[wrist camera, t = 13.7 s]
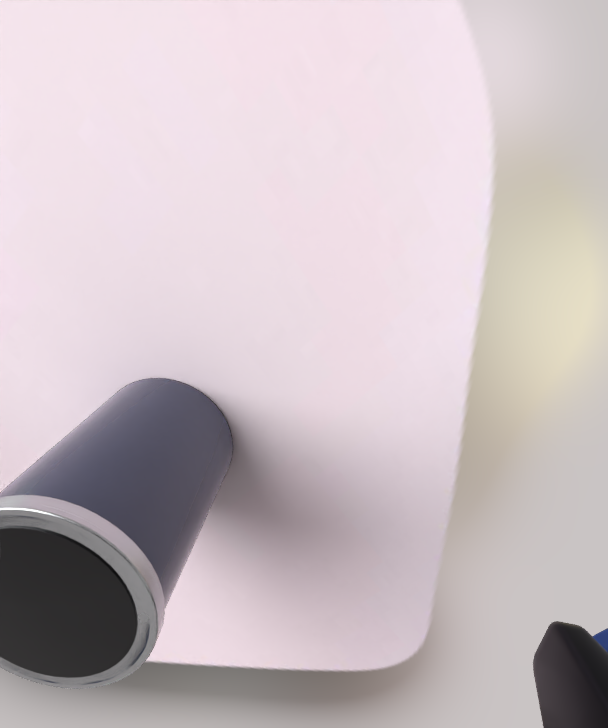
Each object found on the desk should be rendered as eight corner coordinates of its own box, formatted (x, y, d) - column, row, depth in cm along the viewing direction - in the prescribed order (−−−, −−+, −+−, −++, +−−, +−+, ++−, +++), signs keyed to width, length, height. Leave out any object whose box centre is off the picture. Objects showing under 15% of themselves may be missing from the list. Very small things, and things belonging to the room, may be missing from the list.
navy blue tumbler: (243, 388, 20) (160, 535, 11) (229, 511, 22) (152, 710, 14) (97, 362, 20) (-89, 488, 12) (99, 486, 22) (-56, 667, 14)
